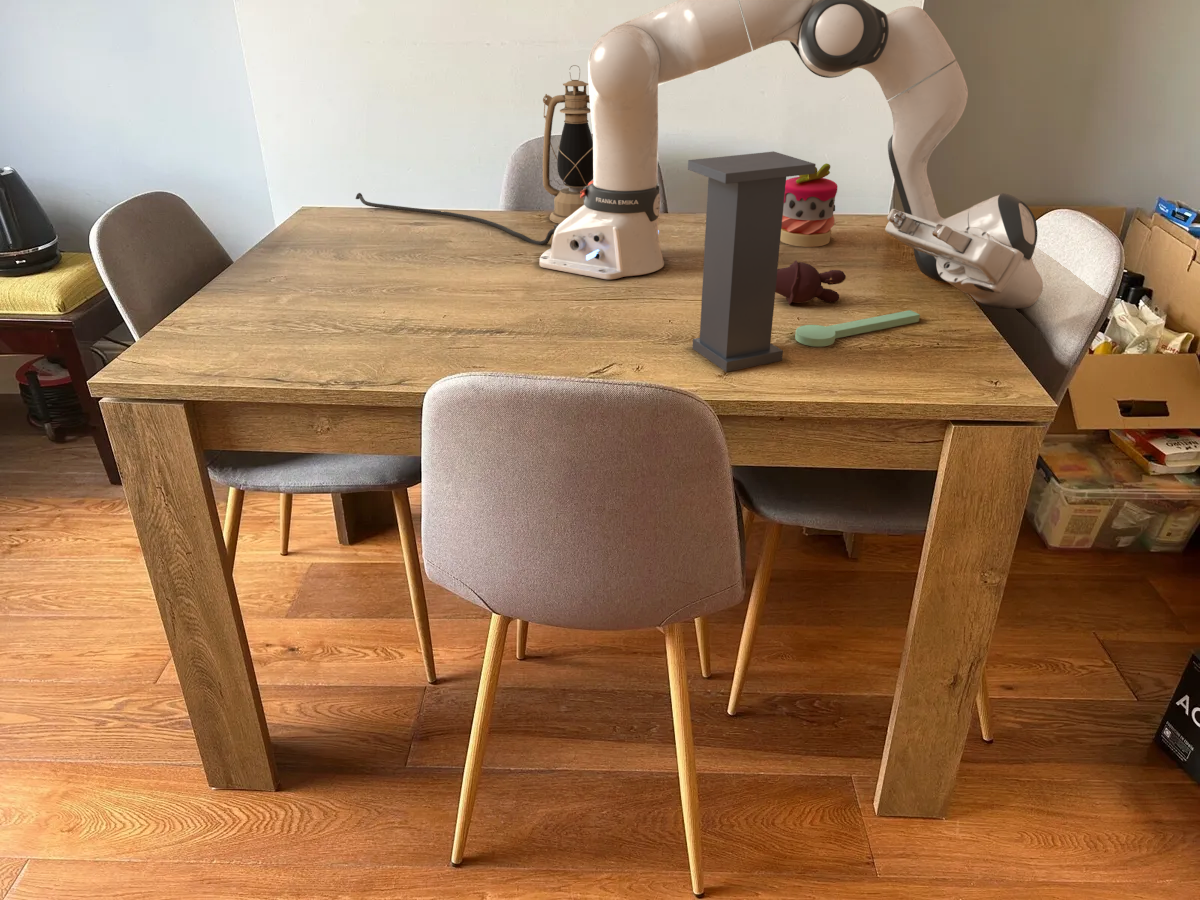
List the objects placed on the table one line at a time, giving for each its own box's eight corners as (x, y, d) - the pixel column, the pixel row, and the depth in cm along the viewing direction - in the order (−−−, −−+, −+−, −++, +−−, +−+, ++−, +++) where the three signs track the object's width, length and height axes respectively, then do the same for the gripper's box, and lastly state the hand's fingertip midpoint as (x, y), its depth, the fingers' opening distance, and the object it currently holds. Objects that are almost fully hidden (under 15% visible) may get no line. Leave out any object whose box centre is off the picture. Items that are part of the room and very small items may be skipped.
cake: (765, 238, 174) (772, 159, 166) (802, 229, 179) (810, 152, 172) (805, 250, 166) (815, 168, 159) (842, 240, 172) (853, 161, 164)
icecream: (751, 270, 135) (850, 282, 134) (751, 245, 140) (846, 256, 139) (744, 308, 140) (839, 319, 139) (744, 282, 145) (835, 293, 144)
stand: (757, 336, 129) (773, 151, 116) (794, 358, 121) (815, 163, 109) (679, 351, 124) (687, 160, 111) (713, 374, 117) (726, 173, 104)
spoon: (901, 313, 136) (902, 306, 136) (927, 325, 132) (928, 318, 131) (787, 336, 129) (788, 328, 128) (810, 349, 124) (811, 341, 124)
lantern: (614, 211, 192) (614, 62, 178) (609, 225, 182) (609, 68, 168) (548, 210, 194) (543, 61, 179) (539, 224, 183) (533, 68, 169)
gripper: (930, 223, 141) (877, 186, 133) (1033, 257, 125) (980, 217, 117) (909, 259, 142) (855, 224, 135) (1008, 297, 126) (954, 261, 119)
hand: (914, 221), depth 126 cm, fingers open, 8 cm apart
